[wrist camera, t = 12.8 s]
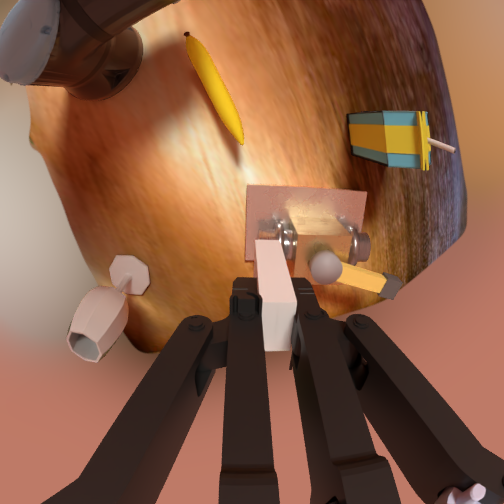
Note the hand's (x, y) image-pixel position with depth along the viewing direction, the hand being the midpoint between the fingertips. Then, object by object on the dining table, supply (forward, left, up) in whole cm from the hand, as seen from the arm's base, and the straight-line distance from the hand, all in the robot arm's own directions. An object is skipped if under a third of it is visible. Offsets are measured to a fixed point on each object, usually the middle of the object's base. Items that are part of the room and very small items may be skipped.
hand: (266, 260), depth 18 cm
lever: (+15, -12, -19) cm, 27 cm away
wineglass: (-23, -18, -30) cm, 42 cm away
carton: (+19, +9, -30) cm, 36 cm away
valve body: (+9, -7, -29) cm, 32 cm away
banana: (-6, +14, -30) cm, 33 cm away
